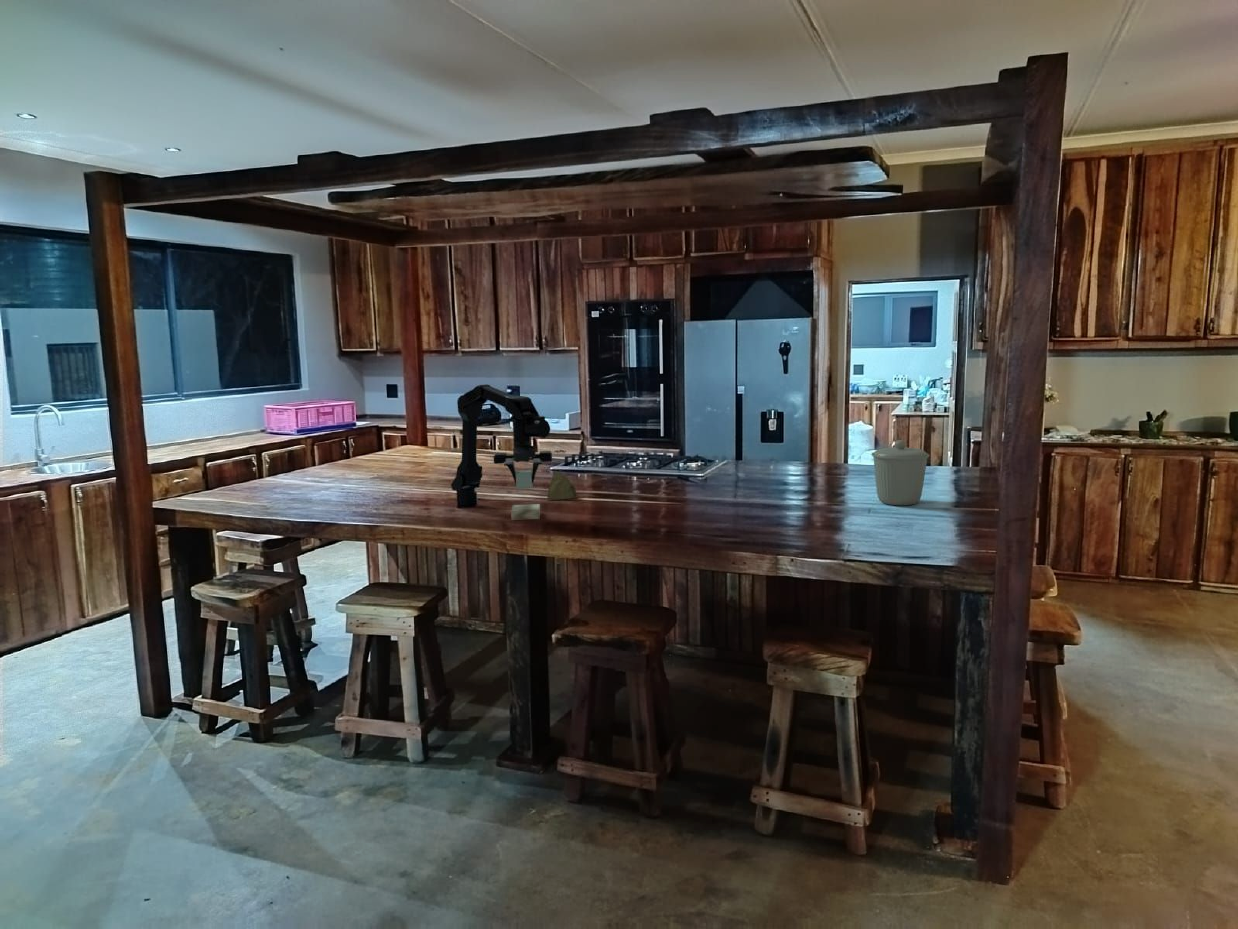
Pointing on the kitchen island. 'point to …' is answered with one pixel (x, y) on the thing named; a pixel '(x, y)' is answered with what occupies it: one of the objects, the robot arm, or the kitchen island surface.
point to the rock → (561, 488)
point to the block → (524, 479)
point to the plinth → (525, 512)
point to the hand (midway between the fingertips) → (524, 483)
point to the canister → (899, 474)
